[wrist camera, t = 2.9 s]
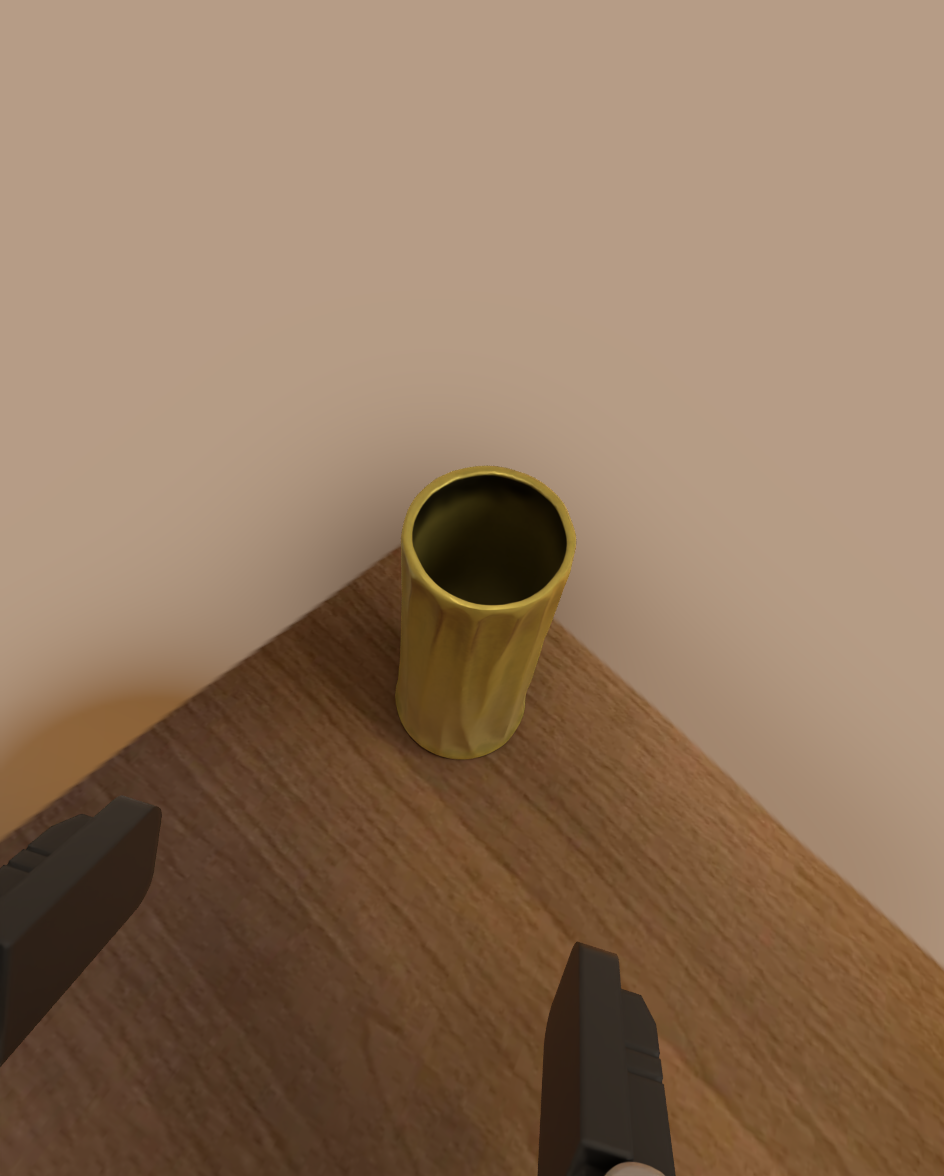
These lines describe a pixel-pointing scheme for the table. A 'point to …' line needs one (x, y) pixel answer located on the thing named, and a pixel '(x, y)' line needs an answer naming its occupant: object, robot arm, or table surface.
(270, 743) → the table surface
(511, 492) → the vase
